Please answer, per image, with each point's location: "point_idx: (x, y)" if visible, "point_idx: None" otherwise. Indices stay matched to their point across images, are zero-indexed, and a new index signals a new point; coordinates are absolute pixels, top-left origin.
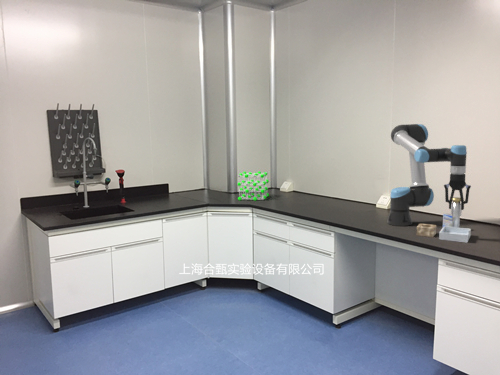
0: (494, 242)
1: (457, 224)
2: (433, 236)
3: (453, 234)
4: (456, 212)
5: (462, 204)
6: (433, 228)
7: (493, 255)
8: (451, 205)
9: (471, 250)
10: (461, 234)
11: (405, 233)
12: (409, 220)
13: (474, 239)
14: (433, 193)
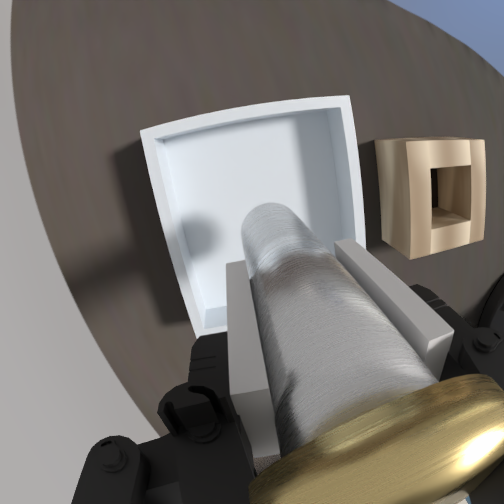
0: (54, 246)
1: (251, 219)
2: (376, 146)
3: (244, 107)
4: (290, 261)
5: (188, 386)
6: (406, 141)
7: (16, 20)
8: (428, 310)
9: (99, 4)
10: (186, 127)
11: (487, 146)
12: (499, 316)
13: (148, 241)
14: (467, 498)
